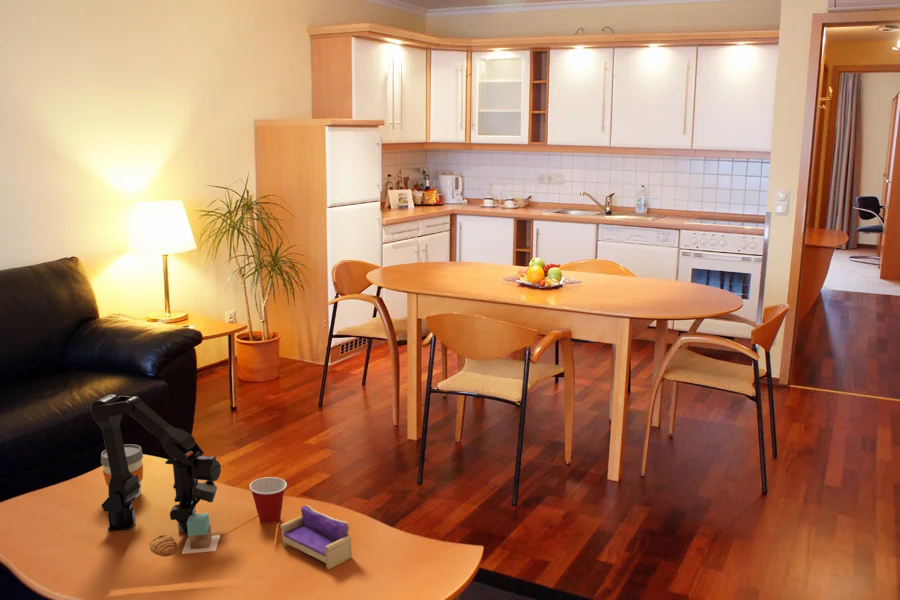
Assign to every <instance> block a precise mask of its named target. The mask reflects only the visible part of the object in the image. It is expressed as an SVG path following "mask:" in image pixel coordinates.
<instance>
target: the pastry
mask: <svg viewBox="0 0 900 600" xmlns="http://www.w3.org/2000/svg"><path fill="white" fill-rule="evenodd" d="M177 545H178V543H177V542H176V541H175V539H174V538H173V537H172V536H169V535H167V534H160V535H157V536H156V537H154V538H152V540H151V542H150V544H149V550H150V551H151V552H153V553H154V554H156V555H160V556H161V557H170V556H172V555H175V554H176V553H177V552H178V546H177Z"/></svg>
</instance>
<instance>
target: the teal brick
mask: <svg viewBox="0 0 900 600" xmlns="http://www.w3.org/2000/svg"><path fill="white" fill-rule="evenodd" d="M210 526H211V525H210V516H209V512H203V513H195V514H193V515H191V516H189V518H188V521H187V530H188V533H187V536H188V537H189V536H195V535H207V533H208V530H209V527H210Z"/></svg>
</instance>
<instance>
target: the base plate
mask: <svg viewBox="0 0 900 600" xmlns="http://www.w3.org/2000/svg"><path fill="white" fill-rule="evenodd" d="M211 536H212V540H211V543H210V547H209V548H201V549H190V539H189V537H187V539H186V541H185V542H184V543H185V544H184V546H183V549H182V551H181V554H182V555H184V554H185V555H186V554H194V553H206V552H216V550H217V549H218V544H219V540H220V537H221V535H219V534H218V535H217V534H216V535H211Z"/></svg>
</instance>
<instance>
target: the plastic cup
mask: <svg viewBox="0 0 900 600" xmlns="http://www.w3.org/2000/svg"><path fill="white" fill-rule="evenodd" d="M287 485H288V484H287V481H286V480H284V479H283V478H280V477H276V476H275V477H273V476H268V477H267V476H266V477H265V476H264V477H260V478H256V479H254V480H253V481H251V482H250V483H249V490H250V492H251V494H252V497H253V500H254V504H255V509H256V512H257V515H258V516H257V517H258V518H259V521H260V522H261V523H273V522H276V524H279V523H280V521H281V518H282V517H281V516H282V511H283V510H282V509H283V501H284V494H285V490H286V488H287Z"/></svg>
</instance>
